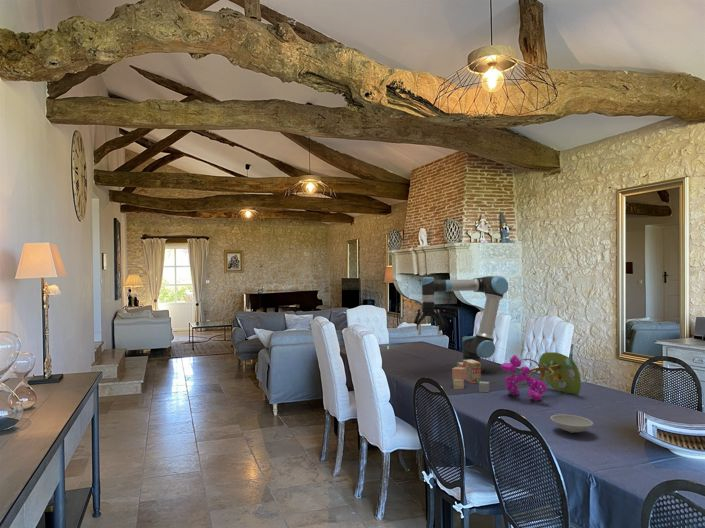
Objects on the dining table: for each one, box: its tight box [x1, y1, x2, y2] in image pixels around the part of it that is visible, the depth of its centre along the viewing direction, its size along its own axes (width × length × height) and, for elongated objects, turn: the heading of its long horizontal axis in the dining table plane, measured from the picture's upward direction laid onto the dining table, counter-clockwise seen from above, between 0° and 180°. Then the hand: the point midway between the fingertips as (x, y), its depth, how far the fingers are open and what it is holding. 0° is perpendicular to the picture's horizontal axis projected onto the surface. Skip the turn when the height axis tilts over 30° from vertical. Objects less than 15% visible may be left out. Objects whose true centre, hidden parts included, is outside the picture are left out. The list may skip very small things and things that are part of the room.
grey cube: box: [478, 380, 490, 394], centre depth 277 cm, size 5×5×5 cm
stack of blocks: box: [456, 359, 482, 384], centre depth 309 cm, size 21×6×12 cm, turn 12°
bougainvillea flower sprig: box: [500, 351, 582, 402], centre depth 264 cm, size 30×28×35 cm
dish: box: [550, 413, 594, 434], centre depth 202 cm, size 18×14×5 cm
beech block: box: [452, 379, 465, 390], centre depth 289 cm, size 9×6×5 cm, turn 166°
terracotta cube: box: [451, 366, 466, 381], centre depth 289 cm, size 6×6×6 cm
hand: (429, 335), depth 317 cm, fingers open, 13 cm apart
